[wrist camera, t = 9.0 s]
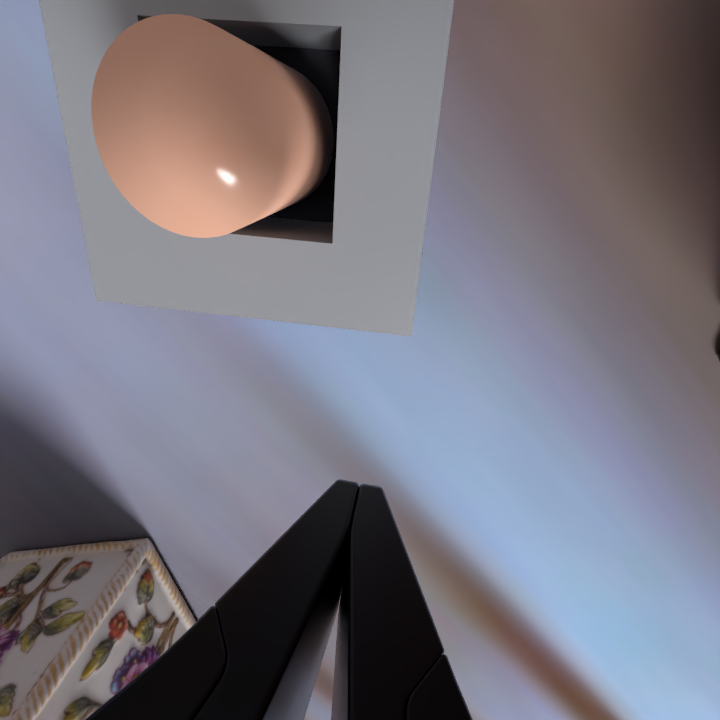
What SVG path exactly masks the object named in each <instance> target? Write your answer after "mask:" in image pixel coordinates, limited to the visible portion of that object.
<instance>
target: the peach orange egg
mask: <svg viewBox="0 0 720 720" xmlns="http://www.w3.org/2000/svg"><path fill="white" fill-rule="evenodd" d="M91 116H92V125H93V131H94V136H95V141H96V145H97V148H98V151H99V154H100V157H101V159H102V161H103V163H104V166H105V168H106V170H107V172H108V174H109V175H110V177H111V179H112V181H113V182H114V184H115V185H116V187H117V188H118V190H119V191H120V192H121V194H122V195H123V196H124V197H125V198H126V199H127V201H128V202H129V203H130V204H131V205H132V206H133V207H134V208H135V209H136V210H137V211H138V212H140V213H141V214H142V215H143V216H145V217H146V218H147V219H149V220H150V221H152V222H153V223H155V224H157V225H158V226H160V227H162V228H164V229H166V230H169V231H171V232H173V233H177V234H180V235H183V236H189V237H195V238H211V237H219V236H222V235H226V234H229V233H232V232H234V231H236V230H239V229H241V228H243V227H245V226H247V225H249V224H252V223H254V222H256V221H258V220H260V219H262V218H264V217H267V216H269V215H271V214H273V213H275V212H277V211H280V210H282V209H284V208H286V207H288V206H290V205H292V204H295V203H297V202H299V201H301V200H303V199H304V198H306V197H307V196H309V195H310V194H311V193H312V192H313V191H314V190H315V189H316V188H317V187H318V186H319V185H320V183H321V182H322V180H323V179H324V177H325V175H326V173H327V171H328V169H329V166H330V163H331V159H332V155H333V147H334V132H333V125H332V121H331V117H330V113H329V111H328V108H327V105H326V103H325V102H324V100H323V98H322V96H321V94H320V93H319V92H318V90H317V89H316V87H315V86H314V85H313V84H312V83H311V82H310V81H309V80H308V79H307V78H306V77H305V76H304V75H303V74H301V73H300V72H298V71H297V70H295V69H293V68H292V67H290V66H288V65H286V64H284V63H283V62H281V61H279V60H277V59H275V58H273V57H272V56H270V55H268V54H266V53H264V52H263V51H261V50H259V49H257V48H255V47H254V46H252V45H250V44H248V43H246V42H245V41H243V40H241V39H239V38H237V37H236V36H234V35H232V34H230V33H228V32H227V31H225V30H223V29H221V28H219V27H218V26H215V25H213V24H211V23H209V22H207V21H205V20H202V19H199V18H196V17H192V16H188V15H180V14H162V15H157V16H152V17H148V18H146V19H143V20H141V21H138V22H136V23H135V24H133V25H132V26H130V27H128V28H127V29H126V30H124V31H123V32H122V33H121V34H120V35H119V36H118V37H117V38H116V39H115V40H114V41H113V43H112V44H111V45H110V46H109V48H108V49H107V51H106V53H105V54H104V56H103V58H102V60H101V62H100V65H99V67H98V70H97V72H96V76H95V80H94V84H93V91H92V99H91Z"/></svg>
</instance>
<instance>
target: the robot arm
mask: <svg viewBox="0 0 720 720" xmlns="http://www.w3.org/2000/svg"><path fill="white" fill-rule="evenodd" d="M718 358H719V361H720V353H719V357H718ZM340 596H341V598H340ZM339 601H340V605H339ZM338 605H339V614H338V626H337V641H336V656H335V671H334V686H333V701H332V716H331V720H472V717H471V715H470V712H469V710H468V708H467V705H466V703H465V700H464V698H463V696H462V693H461V691H460V688H459V686H458V684H457V681H456V678H455V676H454V673H453V671H452V668H451V665H450V663H449V660H448V658H447V656H446V655H444V648H443V645H442V642H441V640H440V637H439V635H438V632H437V629H436V627H435V624H434V622H433V619H432V616H431V614H430V611H429V608H428V606H427V603H426V601H425V598H424V595H423V593H422V590H421V588H420V585H419V582H418V580H417V577H416V574H415V572H414V569H413V567H412V564H411V561H410V559H409V556H408V553H407V551H406V548H405V546H404V543H403V540H402V538H401V535H400V533H399V530H398V527H397V525H396V522H395V519H394V517H393V514H392V512H391V509H390V506H389V504H388V501H387V499H386V496H385V493H384V491H383V489H382V488H381V487H379V486H374V485H369V484H361V485H360V487H359V484H358V483H357V482H352V481H347V480H341V479H340V480H337V481H336V482H335V483H334V484H333V485H332V486H331V487H330V488H329V489H328V490H327V491H326V492H325V493H324V494H323V495H322V496H321V497H320V498H319V499H318V500H317V501H316V502H315V503H314V504H313V505H312V506H311V507H310V508H309V509H308V510H307V511H306V512H305V513H304V514H303V515H302V516H301V517H300V518H299V519H298V520H297V521H296V522H295V523H294V524H293V525H292V526H291V527H290V528H289V529H288V530H287V531H286V532H285V533H284V534H283V535H282V536H281V537H280V538H279V539H278V540H277V541H276V542H275V543H274V544H273V545H272V546H271V547H270V548H269V549H268V550H267V551H266V552H265V553H264V554H263V555H262V556H261V557H260V558H259V559H258V560H257V561H256V562H255V563H254V564H253V565H252V566H251V567H250V568H249V569H248V570H247V571H246V572H245V573H244V574H243V575H242V576H241V577H240V578H239V579H238V581H237V582H236V583H235V584H234V585H233V586H232V587H231V588H230V589H229V590H228V591H227V592H226V593H225V594H224V595H223V596H222V597H221V598H220V599H219V600H218V601H217V602H216V603H215V606H212V607H210V608H209V609H208V610H207V611H206V612H205V613H204V615H203V616H202V617H201V618H200V619H199V620H198V621H197V622H196V623H195V624H194V625H193V626H192V627H191V628H190V629H188V630H187V631H186V632H185V633H184V634H183V635H182V636H181V637H180V638H179V639H178V640H177V641H176V642H175V643H174V644H173V645H172V646H171V647H170V648H169V649H167V650H166V651H165V652H164V653H163V654H162V655H161V656H160V657H159V658H157V659H156V660H155V661H154V662H153V663H152V664H150V665H149V666H148V667H147V668H146V669H145V670H143V671H142V672H141V673H140V674H139V675H138V676H136V677H135V678H134V679H133V680H132V681H131V682H129V683H128V684H127V685H126V686H125V687H123V688H122V689H121V690H120V691H119V692H117V693H116V694H115V695H114V696H113V697H111V698H110V699H109V700H108V701H107V702H105V703H104V704H103V705H102V706H100V707H99V708H98V709H97V710H96V711H94V712H93V713H92V714H91V715H90V716H88V717H87V718H86V719H85V720H304V717H305V713H306V710H307V707H308V704H309V700H310V697H311V694H312V691H313V688H314V684H315V681H316V678H317V675H318V672H319V668H320V665H321V662H322V659H323V655H324V652H325V649H326V646H327V643H328V639H329V636H330V633H331V630H332V626H333V623H334V620H335V616H336V613H337V609H338Z"/></svg>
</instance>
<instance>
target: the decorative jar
mask: <svg viewBox="0 0 720 720" xmlns="http://www.w3.org/2000/svg"><path fill="white" fill-rule="evenodd" d="M195 623H196V620H195V618H194V617H193V615H192V613H191V611H190V610H189V608H188V606H187V604H186V602H185V601H184V599H183V597H182V595H181V594H180V592H179V590H178V588H177V587H176V585H175V583H174V581H173V579H172V578H171V576H170V574H169V572H168V570H167V569H166V567H165V565H164V564H163V562H162V560H161V558H160V556H159V555H158V553H157V551H156V549H155V547H154V545H153V544H152V542H151V541H150V540H149V539H148V538H144V539H134V540H126V541H108V542H101V543H89V544H80V545H69V546H63V547H55V548H47V549H35V550H26V551H15V552H11V553H8V554H7V555H5V556H4V557H2V558H1V559H0V720H85V719H86V718H87V717H88V716H90V715H91V714H92V713H93V712H94V711H96V710H97V709H98V708H99V707H100V706H102V705H103V704H104V703H105V702H107V701H108V700H109V699H110V698H111V697H113V696H114V695H115V694H116V693H117V692H119V691H120V690H121V689H122V688H123V687H125V686H126V685H127V684H128V683H129V682H131V681H132V680H133V679H134V678H135V677H136V676H138V675H139V674H140V673H141V672H142V671H143V670H145V669H146V668H147V667H148V666H149V665H150V664H152V663H153V662H154V661H155V660H156V659H157V658H159V657H160V656H161V655H162V654H163V653H164V652H165V651H166V650H167V649H169V648H170V647H171V646H172V645H173V644H174V643H175V642H176V641H177V640H178V639H179V638H180V637H181V636H182V635H183V634H184V633H185V632H186V631H187V630H188V629H190V628H191V627H192V626H193V625H194V624H195Z"/></svg>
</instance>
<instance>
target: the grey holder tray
mask: <svg viewBox="0 0 720 720" xmlns="http://www.w3.org/2000/svg"><path fill="white" fill-rule="evenodd" d="M39 2H40V7H41V12H42V18H43V23H44V28H45V34H46V39H47V44H48V49H49V55H50V60H51V65H52V70H53V76H54V81H55V86H56V91H57V97H58V102H59V107H60V112H61V118H62V123H63V128H64V134H65V139H66V144H67V149H68V155H69V160H70V165H71V170H72V176H73V181H74V186H75V191H76V197H77V202H78V207H79V212H80V218H81V223H82V228H83V233H84V239H85V244H86V249H87V255H88V260H89V265H90V270H91V276H92V281H93V286H94V291H95V297H96V301H104V302H113V303H121V304H130V305H139V306H148V307H157V308H166V309H175V310H183V311H192V312H201V313H210V314H219V315H228V316H236V317H245V318H254V319H263V320H272V321H281V322H290V323H298V324H307V325H316V326H325V327H334V328H343V329H352V330H360V331H369V332H378V333H387V334H396V335H405V336H412V328H413V321H414V313H415V305H416V297H417V289H418V281H419V273H420V265H421V258H422V250H423V242H424V234H425V226H426V218H427V210H428V202H429V195H430V187H431V179H432V171H433V163H434V155H435V147H436V140H437V132H438V124H439V116H440V108H441V100H442V92H443V84H444V77H445V69H446V61H447V53H448V45H449V37H450V29H451V21H452V14H453V6H454V0H39ZM162 14H180V15H188V16H192V17H196V18H199V19H202V20H205V21H207V22H209V23H211V24H213V25H215V26H218V27H219V28H221V29H223V30H225V31H227V32H228V33H230V34H232V35H234V36H236V37H237V38H239V39H241V40H243V41H245V42H246V43H248V44H250V45H257V46H274V47H291V48H307V49H324V50H341V52H340V76H339V100H338V124H337V147H336V171H335V195H334V219H333V223H328V222H317V221H307V220H296V219H285V218H274V217H264V218H262V219H260V220H258V221H256V222H254V223H252V224H249V225H247V226H245V227H243V228H241V229H239V230H236V231H234V232H232V233H229V234H226V235H222V236H219V237H211V238H195V237H189V236H183V235H180V234H177V233H173V232H171V231H169V230H166V229H164V228H162V227H160V226H158V225H157V224H155V223H153V222H152V221H150V220H149V219H147V218H146V217H145V216H143V215H142V214H141V213H140V212H138V211H137V210H136V209H135V208H134V207H133V206H132V205H131V204H130V203H129V202H128V201H127V199H126V198H125V197H124V196H123V195H122V194H121V192H120V191H119V190H118V188H117V187H116V185H115V184H114V182H113V181H112V179H111V177H110V175H109V174H108V172H107V170H106V168H105V166H104V163H103V161H102V159H101V157H100V154H99V151H98V148H97V145H96V141H95V136H94V131H93V125H92V116H91V99H92V91H93V84H94V80H95V76H96V72H97V70H98V67H99V65H100V62H101V60H102V58H103V56H104V54H105V53H106V51H107V49H108V48H109V46H110V45H111V44H112V43H113V41H114V40H115V39H116V38H117V37H118V36H119V35H120V34H121V33H122V32H123V31H124V30H126V29H127V28H128V27H130V26H132V25H133V24H135V23H136V22H138V21H141V20H143V19H146V18H148V17H152V16H157V15H162Z"/></svg>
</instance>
